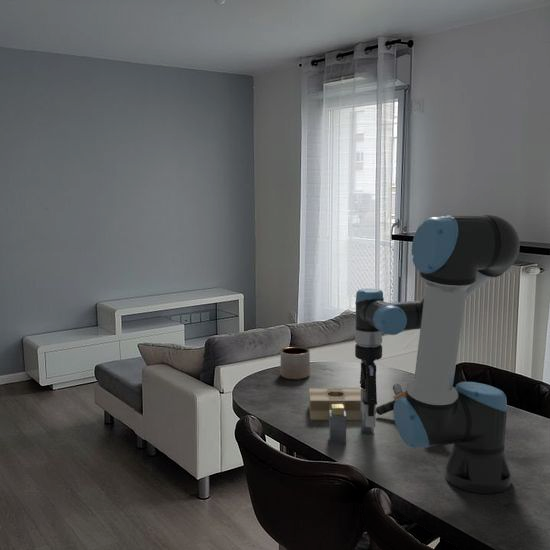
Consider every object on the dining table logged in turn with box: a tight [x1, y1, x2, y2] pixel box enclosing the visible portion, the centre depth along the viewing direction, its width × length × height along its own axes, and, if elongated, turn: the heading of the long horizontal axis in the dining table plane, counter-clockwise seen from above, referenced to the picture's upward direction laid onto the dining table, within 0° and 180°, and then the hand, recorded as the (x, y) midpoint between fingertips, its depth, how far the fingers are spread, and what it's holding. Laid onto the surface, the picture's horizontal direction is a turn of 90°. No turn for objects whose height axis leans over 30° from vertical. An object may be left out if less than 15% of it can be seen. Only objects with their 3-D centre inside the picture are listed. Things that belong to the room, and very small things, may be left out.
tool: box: [376, 383, 406, 416], centre depth 193 cm, size 4×27×30 cm
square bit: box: [328, 404, 347, 445], centre depth 178 cm, size 4×4×10 cm
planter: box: [279, 346, 311, 381], centre depth 237 cm, size 11×11×10 cm
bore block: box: [308, 387, 361, 421], centre depth 200 cm, size 12×16×6 cm
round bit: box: [360, 390, 375, 436], centre depth 184 cm, size 4×4×12 cm
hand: (367, 418), depth 184 cm, fingers open, 11 cm apart
